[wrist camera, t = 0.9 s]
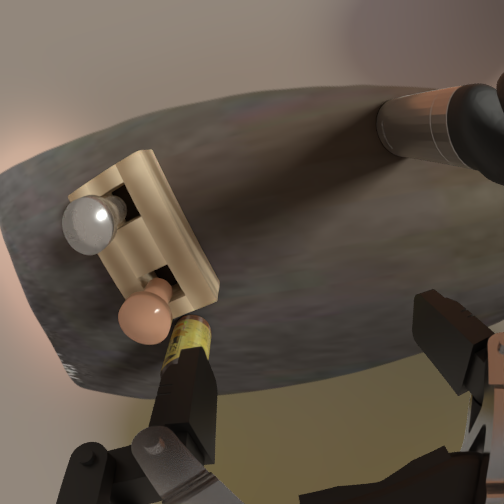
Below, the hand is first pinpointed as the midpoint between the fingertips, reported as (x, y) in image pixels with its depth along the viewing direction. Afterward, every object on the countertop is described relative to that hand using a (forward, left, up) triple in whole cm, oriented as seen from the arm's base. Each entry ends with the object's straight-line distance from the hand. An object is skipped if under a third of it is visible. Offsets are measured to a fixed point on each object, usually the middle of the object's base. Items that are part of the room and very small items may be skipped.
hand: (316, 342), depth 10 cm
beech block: (+17, -1, -34) cm, 37 cm away
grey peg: (+17, -7, -27) cm, 32 cm away
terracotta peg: (+17, +5, -27) cm, 32 cm away
